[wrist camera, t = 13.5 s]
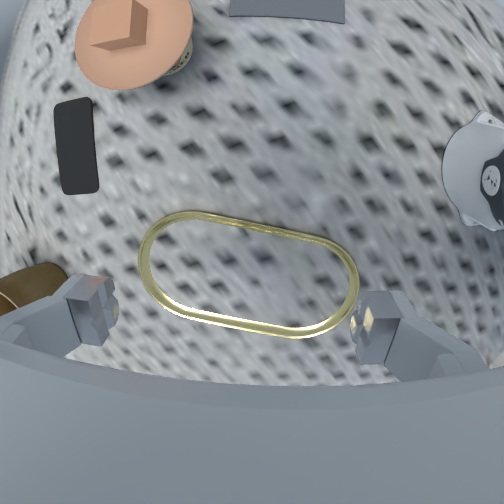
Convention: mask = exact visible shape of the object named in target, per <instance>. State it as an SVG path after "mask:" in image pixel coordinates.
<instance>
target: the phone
mask: <svg viewBox="0 0 504 504" xmlns="http://www.w3.org/2000/svg"><path fill="white" fill-rule="evenodd" d="M54 127H55V138H56V148H57V157H58V165H59V173H60V180H61V186H62V190H63V192H64V194H66V195H77V194H89V193H95V192H97V191H98V189H99V179H98V171H97V161H96V151H95V140H94V123H93V107H92V100H91V99H90V98H88V97H83V98H79V99H75V100H70V101H66V102H63V103H59V104H57V105H56V106H55V108H54Z"/></svg>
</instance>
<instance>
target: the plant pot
mask: <svg viewBox="0 0 504 504" xmlns="http://www.w3.org/2000/svg"><path fill="white" fill-rule="evenodd" d="M67 280H68V278H67V276H66V274H65V273H64V272H63V270H62V269H61V268H60V267H58V266H57V265H55V264H53V263H44V264H39V265H35V266H31V267H28V268H24V269H22V270H19V271H16V272H14V273H11V274H9V275H7V276H5V277H3V278H1V279H0V316H2V315H4V314H7V313H9V312H11V311H14V310H16V309H18V308H21V307H23V306H25V305H28V304H30V303H32V302H35V301H37V300H39V299H42V298H44V297H46V296H52V295H53V294H54V293H55V292H56V291H57V290H58V289H59V288H60V287H61V286H62V285H63V284H64V283H65V282H66V281H67Z"/></svg>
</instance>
